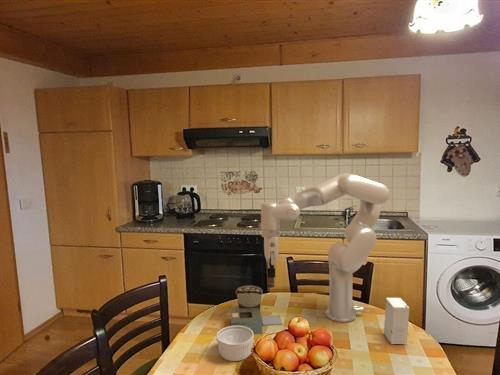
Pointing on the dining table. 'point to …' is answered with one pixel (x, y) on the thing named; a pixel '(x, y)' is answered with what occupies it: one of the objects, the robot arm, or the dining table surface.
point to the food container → (249, 297)
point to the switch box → (247, 319)
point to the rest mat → (271, 320)
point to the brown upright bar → (270, 280)
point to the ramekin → (235, 342)
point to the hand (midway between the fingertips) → (270, 275)
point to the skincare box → (396, 320)
